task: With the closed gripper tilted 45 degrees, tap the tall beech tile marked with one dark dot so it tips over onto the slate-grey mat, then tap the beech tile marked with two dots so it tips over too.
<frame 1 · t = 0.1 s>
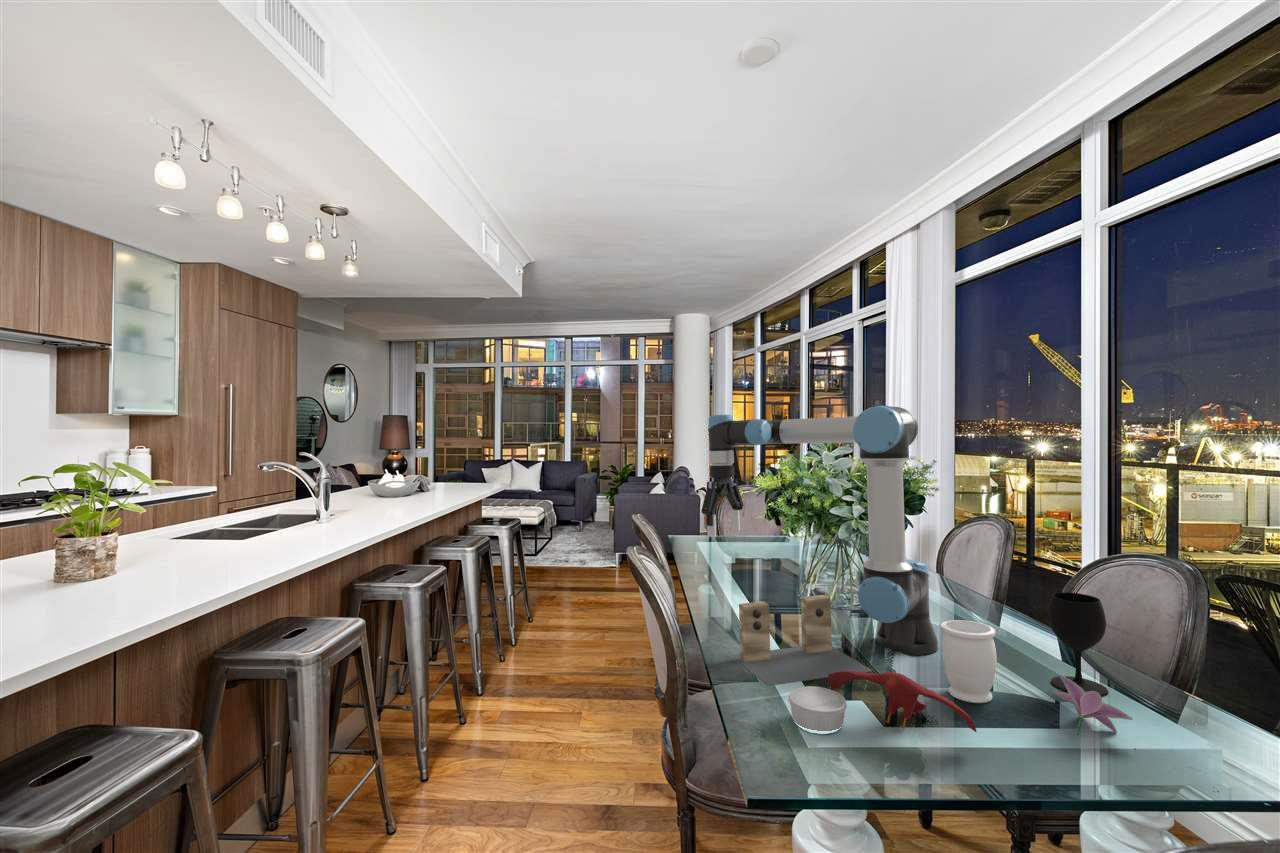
hand: (724, 533, 183), 28 cm above the table, tool pointing down, fingers open, 13 cm apart
mat: (799, 665, 149), on the table
tile one: (817, 650, 157), point 1 cm above the table, touching mat
jar: (970, 696, 130), on the table
ramekin: (817, 725, 119), on the table
lily: (1089, 731, 114), on the table
wine glass: (1079, 688, 132), on the table
red dinosaur figurine: (901, 724, 118), on the table
tile two: (755, 658, 152), point 1 cm above the table, touching mat
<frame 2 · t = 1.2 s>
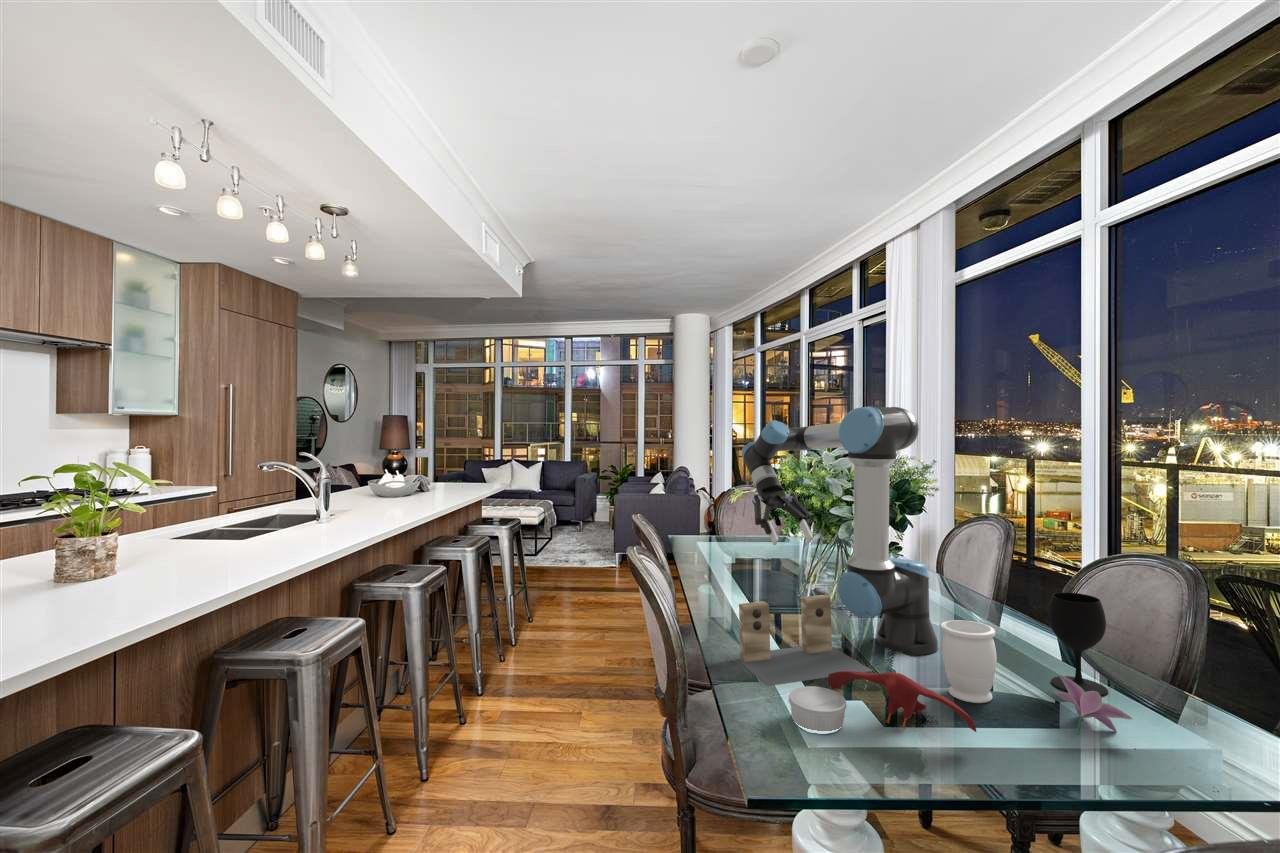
hand: (793, 541, 172), 27 cm above the table, tool tilted 45°, fingers open, 10 cm apart
nothing on the table moved.
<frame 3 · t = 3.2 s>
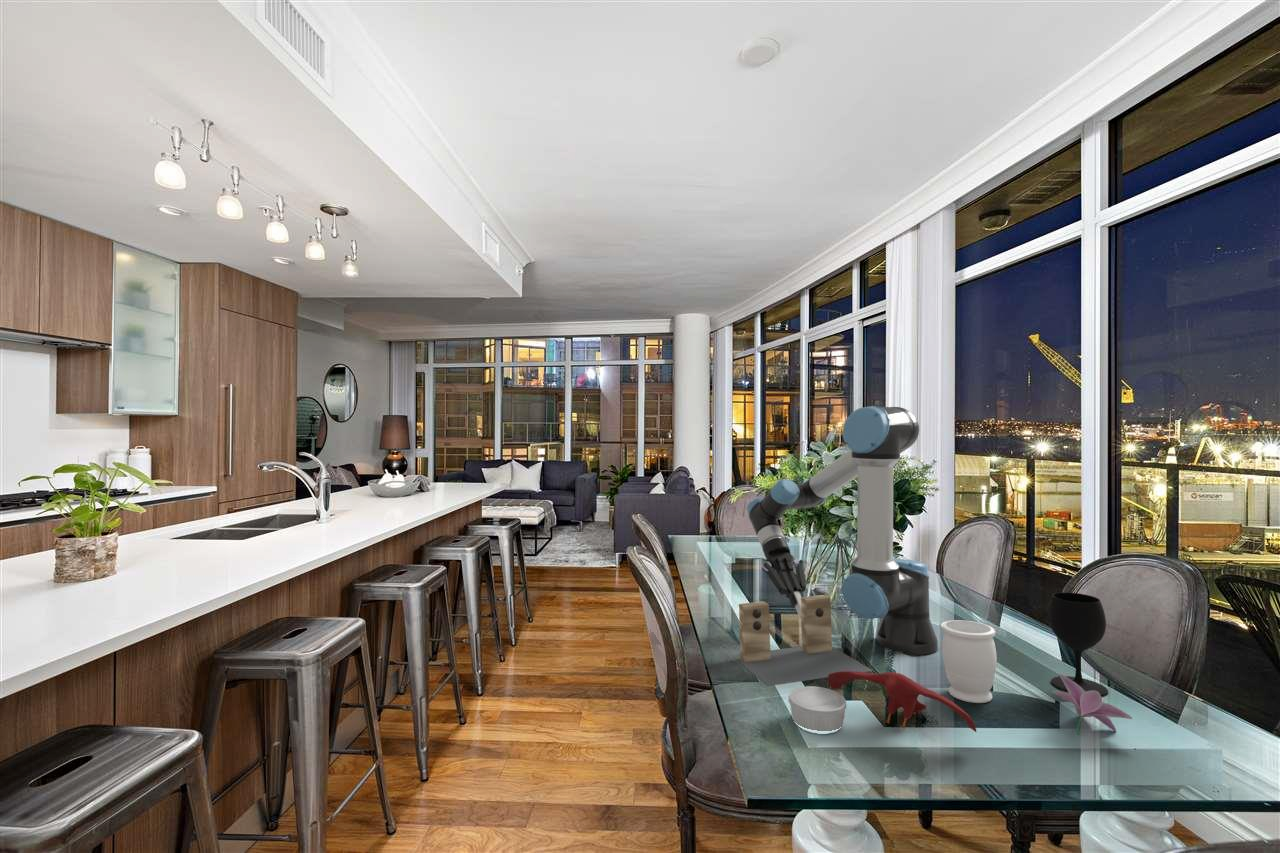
hand: (803, 614, 163), 8 cm above the table, tool tilted 45°, fingers closed
nothing on the table moved.
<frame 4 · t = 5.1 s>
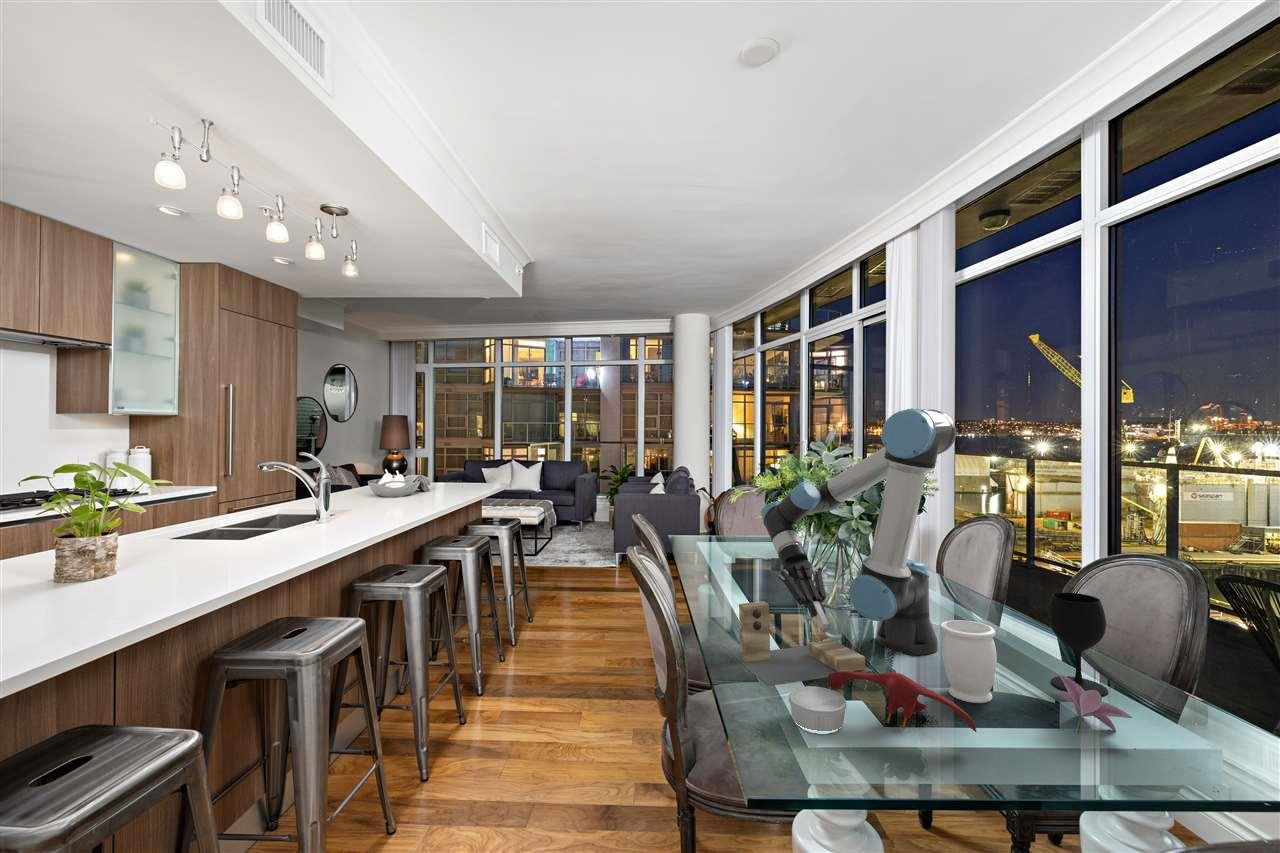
hand: (824, 626, 153), 8 cm above the table, tool tilted 45°, fingers closed
tile one: (820, 647, 155), point 2 cm above the table, tilted 88°, touching mat
everything else where it was.
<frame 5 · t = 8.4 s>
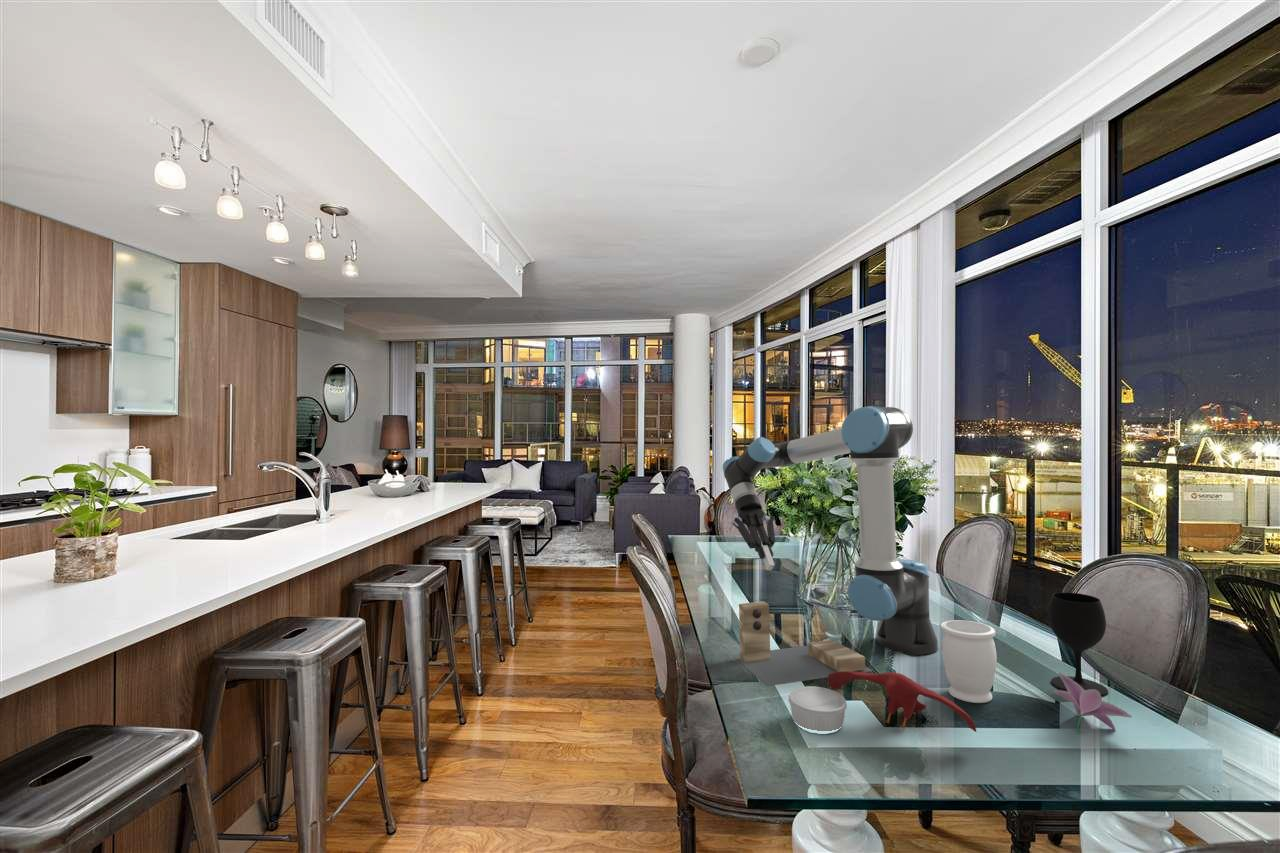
hand: (770, 567, 165), 21 cm above the table, tool tilted 45°, fingers closed
nothing on the table moved.
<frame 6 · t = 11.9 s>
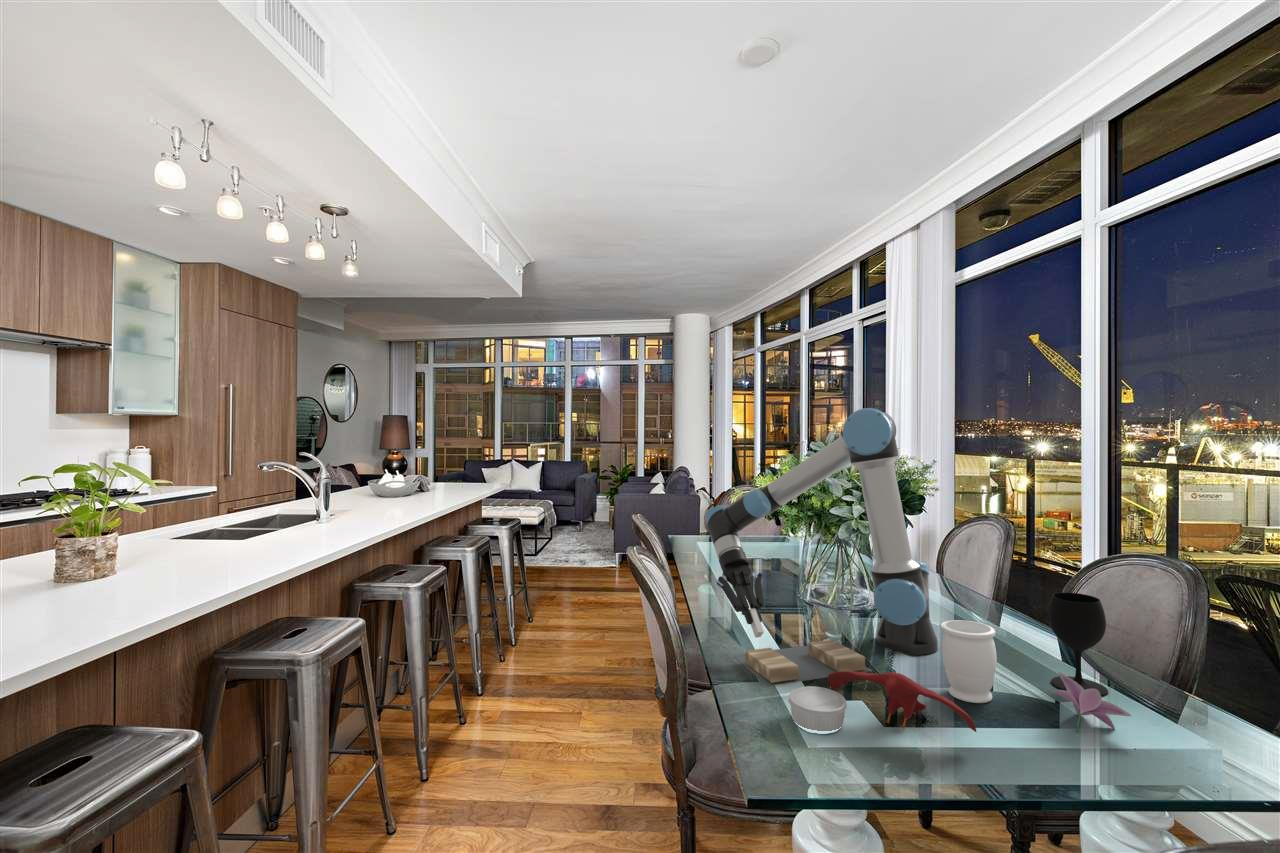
hand: (759, 634, 149), 8 cm above the table, tool tilted 45°, fingers closed
tile two: (757, 655, 150), point 2 cm above the table, tilted 88°, touching mat
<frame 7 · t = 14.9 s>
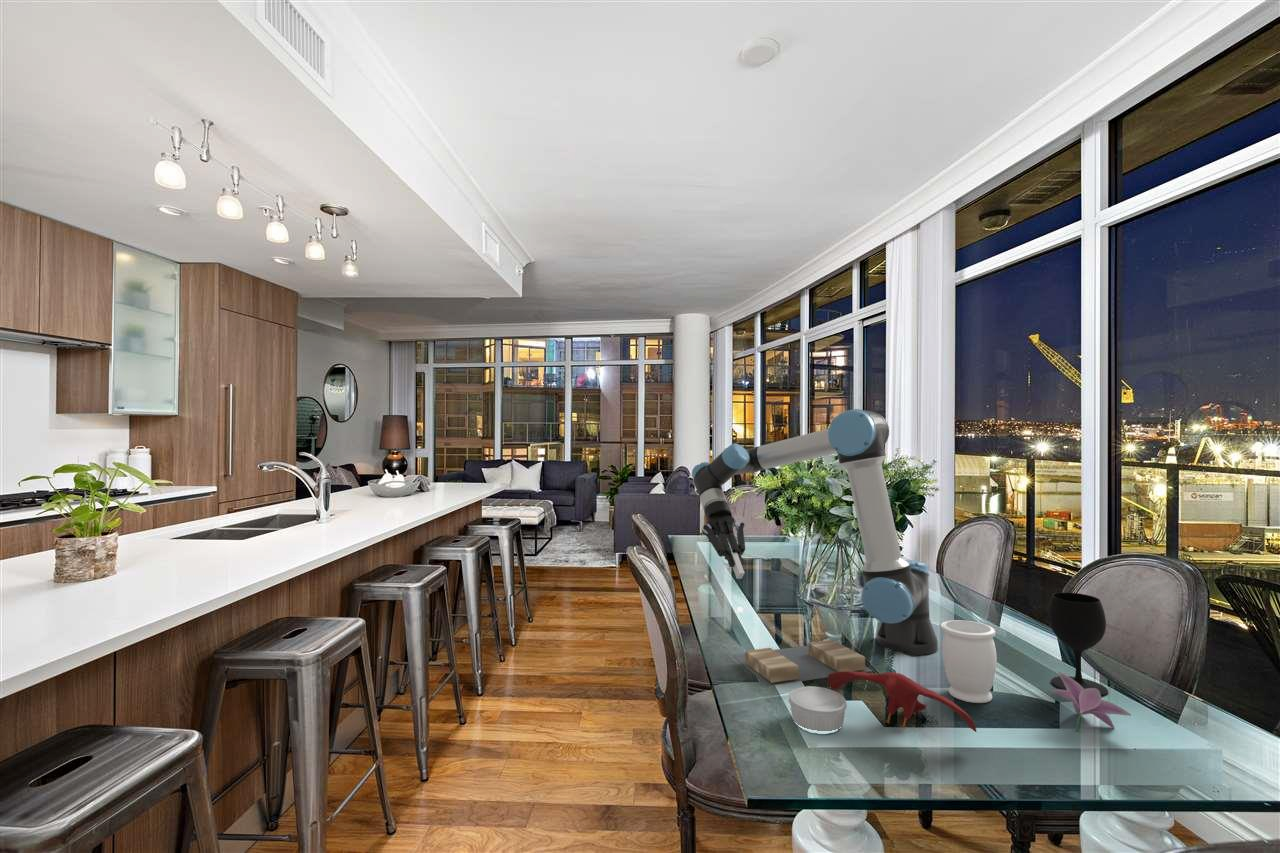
hand: (740, 575, 160), 20 cm above the table, tool tilted 45°, fingers closed
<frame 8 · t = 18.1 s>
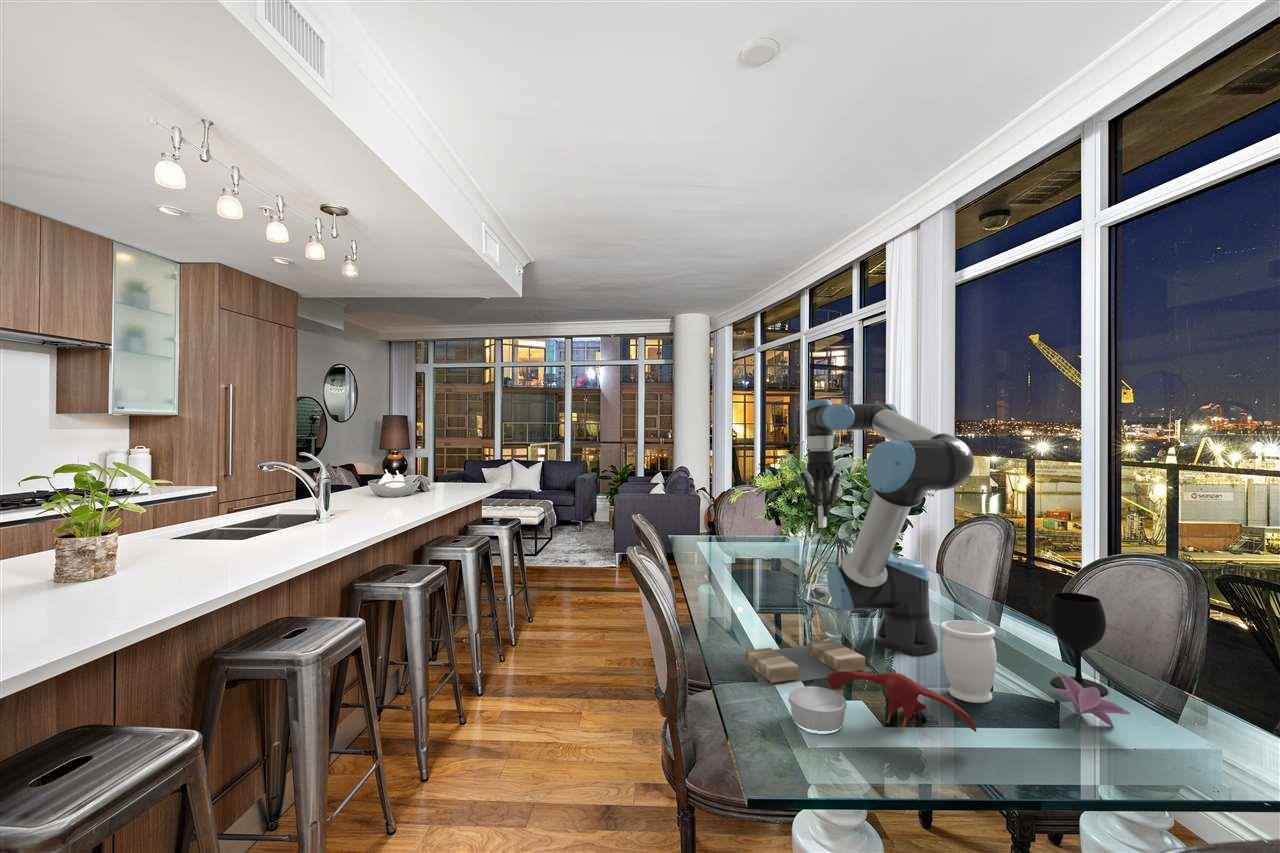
hand: (822, 527, 181), 29 cm above the table, tool pointing down, fingers closed
at the end: tile one tilted 88°; tile two tilted 88° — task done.
